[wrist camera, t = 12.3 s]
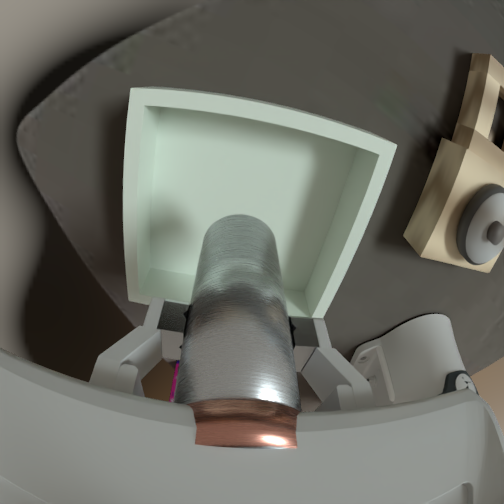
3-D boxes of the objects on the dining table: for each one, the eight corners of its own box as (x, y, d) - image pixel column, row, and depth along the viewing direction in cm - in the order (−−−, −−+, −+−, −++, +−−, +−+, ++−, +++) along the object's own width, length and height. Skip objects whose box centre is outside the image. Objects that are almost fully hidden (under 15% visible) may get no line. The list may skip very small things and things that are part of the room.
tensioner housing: (472, 255, 25) (500, 286, 20) (402, 235, 23) (433, 274, 19) (527, 107, 15) (565, 122, 10) (463, 46, 13) (510, 48, 8)
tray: (308, 293, 27) (317, 328, 23) (143, 268, 25) (128, 300, 21) (369, 131, 18) (397, 145, 15) (154, 86, 16) (130, 88, 13)
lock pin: (268, 281, 17) (284, 471, 8) (197, 271, 16) (167, 464, 7) (286, 220, 14) (336, 440, 5) (205, 206, 14) (156, 434, 5)
